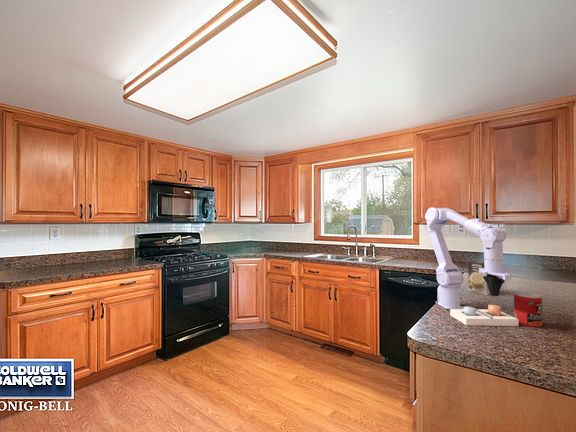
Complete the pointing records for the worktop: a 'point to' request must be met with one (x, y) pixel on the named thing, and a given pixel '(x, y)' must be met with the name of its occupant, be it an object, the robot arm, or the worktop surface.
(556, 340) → the worktop surface
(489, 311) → the orange rounded piece
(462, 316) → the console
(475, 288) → the coffee box
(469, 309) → the pale blue rounded piece
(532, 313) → the canned food
